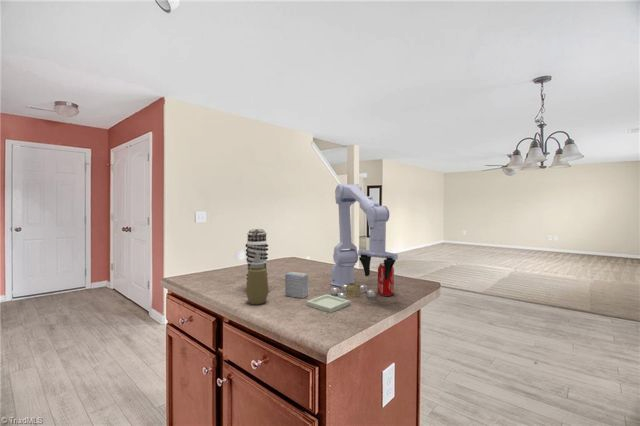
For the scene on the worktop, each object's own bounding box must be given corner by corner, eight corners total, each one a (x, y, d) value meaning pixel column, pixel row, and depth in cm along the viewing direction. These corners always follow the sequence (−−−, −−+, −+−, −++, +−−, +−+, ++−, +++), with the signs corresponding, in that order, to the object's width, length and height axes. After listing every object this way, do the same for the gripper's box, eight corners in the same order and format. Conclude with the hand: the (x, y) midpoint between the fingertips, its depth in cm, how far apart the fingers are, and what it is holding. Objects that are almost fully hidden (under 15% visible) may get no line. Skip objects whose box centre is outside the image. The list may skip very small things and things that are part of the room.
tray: (306, 305, 110) (306, 301, 110) (326, 298, 118) (326, 294, 118) (330, 313, 103) (330, 308, 103) (350, 304, 111) (350, 300, 111)
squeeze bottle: (257, 307, 107) (257, 255, 107) (241, 303, 112) (240, 253, 111) (273, 301, 114) (273, 252, 113) (256, 297, 118) (256, 250, 118)
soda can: (393, 297, 120) (394, 266, 119) (377, 296, 121) (377, 265, 120) (393, 292, 126) (393, 263, 125) (377, 291, 127) (378, 262, 127)
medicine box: (308, 295, 121) (308, 273, 121) (302, 298, 117) (303, 276, 117) (290, 293, 125) (290, 271, 124) (284, 296, 121) (284, 273, 120)
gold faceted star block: (344, 296, 121) (344, 284, 121) (352, 293, 125) (352, 282, 125) (353, 298, 118) (353, 286, 118) (361, 295, 122) (361, 284, 122)
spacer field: (323, 296, 120) (323, 290, 120) (349, 287, 133) (349, 281, 133) (356, 305, 110) (356, 298, 110) (381, 294, 123) (381, 288, 123)
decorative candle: (252, 295, 121) (252, 231, 120) (241, 290, 128) (241, 229, 127) (272, 290, 127) (272, 229, 126) (260, 286, 134) (260, 228, 133)
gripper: (354, 239, 113) (353, 276, 113) (392, 242, 104) (391, 282, 105) (363, 237, 118) (362, 272, 119) (400, 240, 110) (399, 278, 111)
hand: (376, 277), depth 112 cm, fingers open, 7 cm apart
